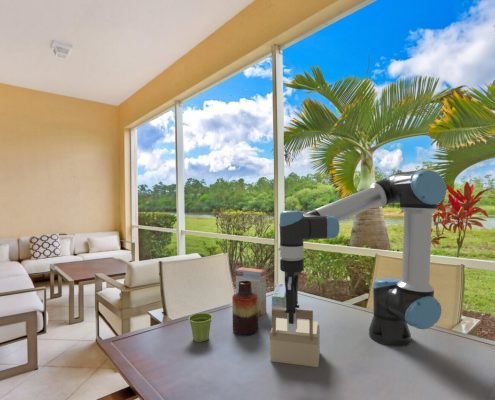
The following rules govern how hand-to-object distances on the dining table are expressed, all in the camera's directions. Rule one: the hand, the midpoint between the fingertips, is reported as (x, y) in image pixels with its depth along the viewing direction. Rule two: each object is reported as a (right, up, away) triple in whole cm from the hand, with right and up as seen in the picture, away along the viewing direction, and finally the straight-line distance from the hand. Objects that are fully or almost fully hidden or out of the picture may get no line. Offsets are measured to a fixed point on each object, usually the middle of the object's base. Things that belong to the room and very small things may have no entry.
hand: (292, 330), depth 103 cm
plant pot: (-33, -13, +23) cm, 42 cm away
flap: (+2, -2, +6) cm, 6 cm away
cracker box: (-13, -12, +51) cm, 54 cm away
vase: (-15, -13, +30) cm, 36 cm away
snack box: (0, -12, +38) cm, 40 cm away
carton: (+2, -13, +8) cm, 15 cm away
